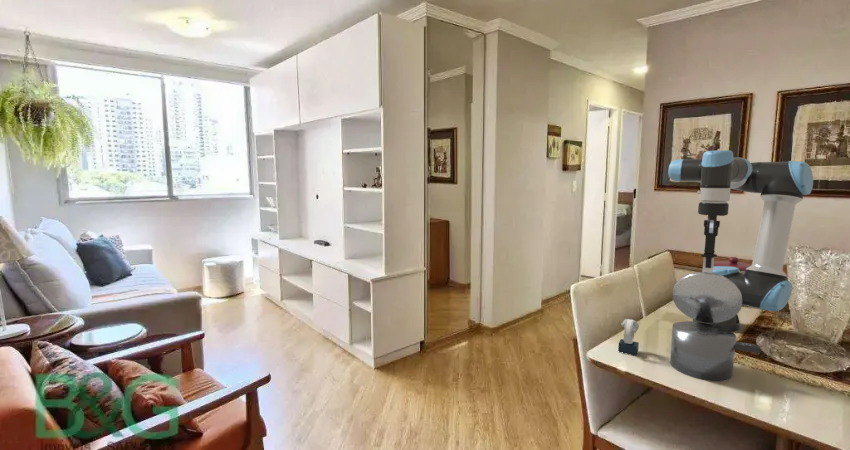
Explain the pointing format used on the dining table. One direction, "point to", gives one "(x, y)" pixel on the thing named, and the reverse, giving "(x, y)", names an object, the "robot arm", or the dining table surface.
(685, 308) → the lid
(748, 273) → the robot arm
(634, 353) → the watch
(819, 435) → the dining table surface
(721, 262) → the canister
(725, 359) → the cooker pot
